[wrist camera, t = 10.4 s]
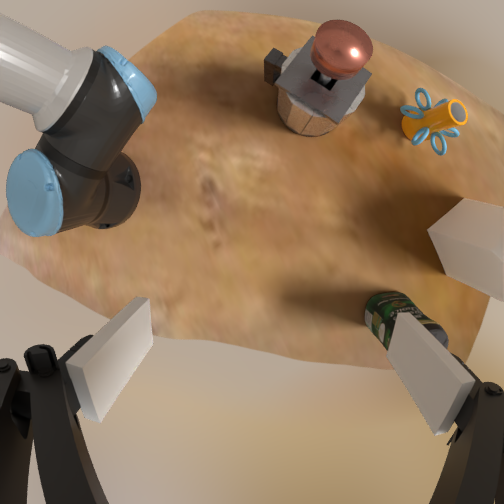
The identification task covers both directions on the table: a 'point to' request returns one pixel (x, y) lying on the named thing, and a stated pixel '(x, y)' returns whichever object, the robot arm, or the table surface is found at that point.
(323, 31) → the plunger
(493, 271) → the milk
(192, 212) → the table surface
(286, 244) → the table surface
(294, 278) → the table surface
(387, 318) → the coffee jar
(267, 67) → the press carafe
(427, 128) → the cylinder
